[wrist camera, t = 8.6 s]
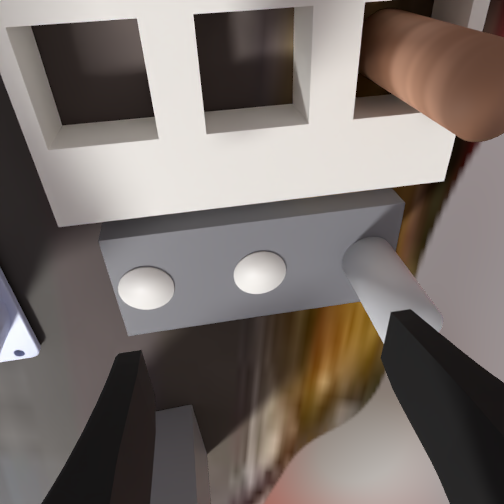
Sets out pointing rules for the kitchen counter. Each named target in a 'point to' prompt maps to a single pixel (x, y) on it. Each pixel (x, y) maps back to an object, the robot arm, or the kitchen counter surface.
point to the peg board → (220, 116)
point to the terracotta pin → (438, 70)
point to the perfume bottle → (179, 459)
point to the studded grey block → (263, 262)
